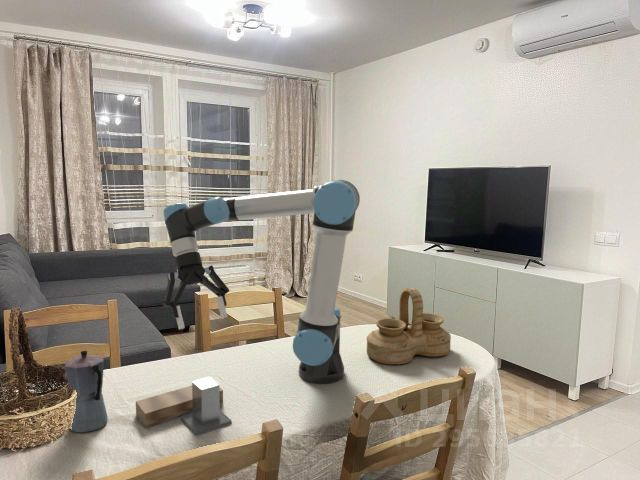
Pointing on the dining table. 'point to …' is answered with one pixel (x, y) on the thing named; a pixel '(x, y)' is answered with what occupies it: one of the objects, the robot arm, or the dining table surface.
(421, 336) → the ceramic vessel
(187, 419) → the rubber pad
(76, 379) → the moka pot
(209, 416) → the grey rectangular block
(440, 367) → the dining table surface
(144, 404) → the body
